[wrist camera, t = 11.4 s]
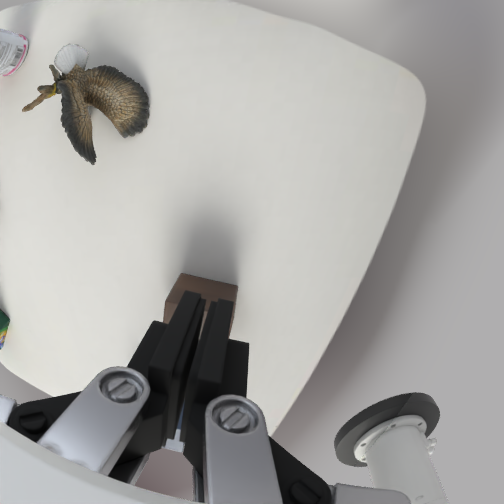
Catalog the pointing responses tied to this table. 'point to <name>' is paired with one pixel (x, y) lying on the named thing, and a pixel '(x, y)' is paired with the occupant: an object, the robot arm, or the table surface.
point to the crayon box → (3, 327)
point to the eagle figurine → (93, 98)
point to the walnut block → (205, 288)
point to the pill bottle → (11, 51)
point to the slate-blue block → (176, 438)
